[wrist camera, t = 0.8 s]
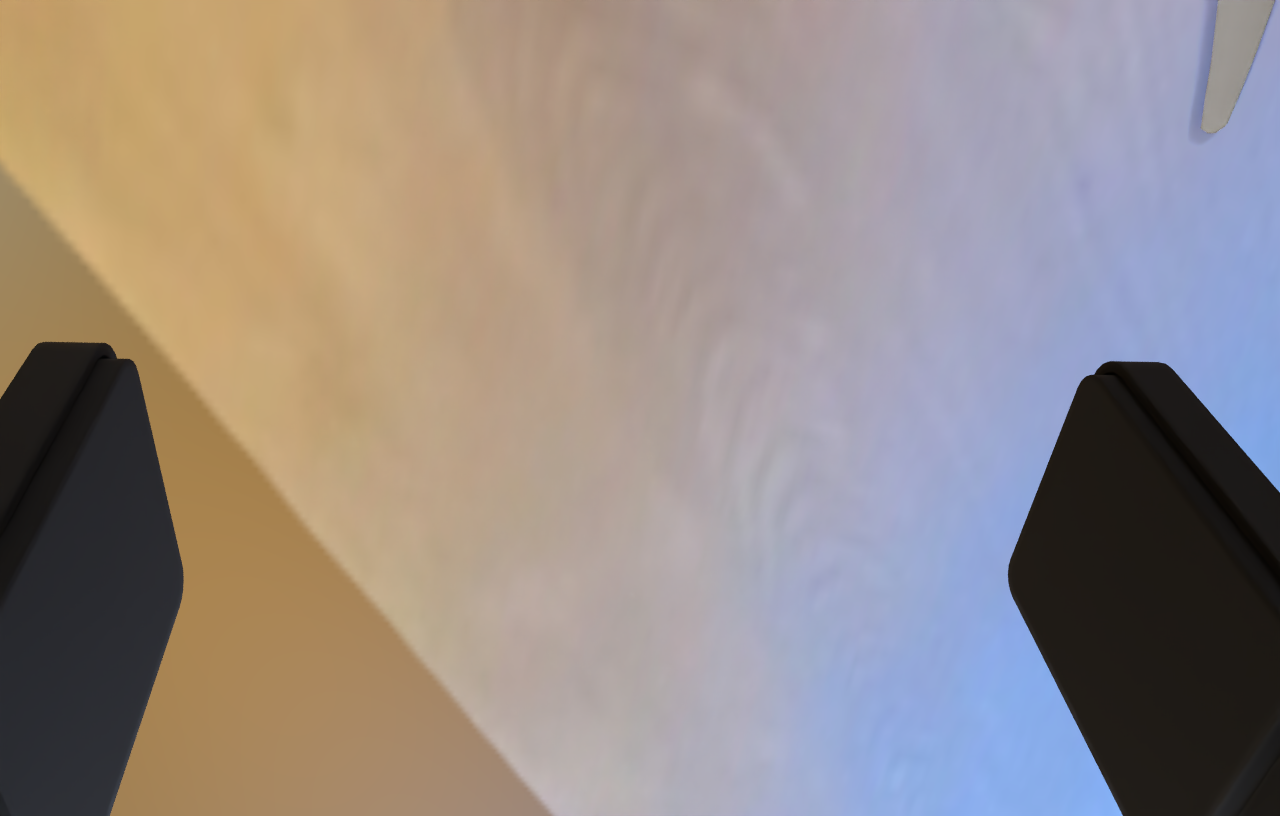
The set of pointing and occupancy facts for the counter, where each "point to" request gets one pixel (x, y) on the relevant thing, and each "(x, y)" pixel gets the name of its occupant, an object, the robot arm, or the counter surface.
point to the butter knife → (1232, 56)
